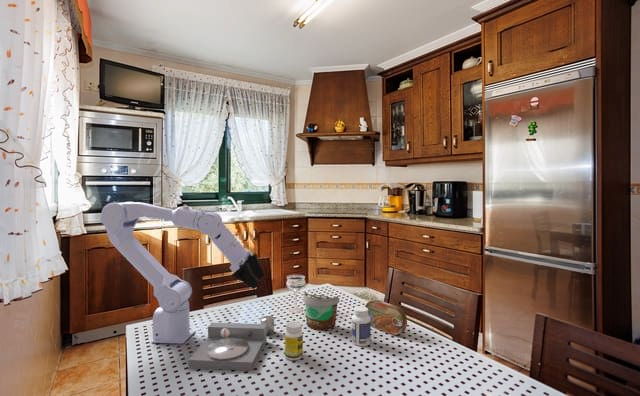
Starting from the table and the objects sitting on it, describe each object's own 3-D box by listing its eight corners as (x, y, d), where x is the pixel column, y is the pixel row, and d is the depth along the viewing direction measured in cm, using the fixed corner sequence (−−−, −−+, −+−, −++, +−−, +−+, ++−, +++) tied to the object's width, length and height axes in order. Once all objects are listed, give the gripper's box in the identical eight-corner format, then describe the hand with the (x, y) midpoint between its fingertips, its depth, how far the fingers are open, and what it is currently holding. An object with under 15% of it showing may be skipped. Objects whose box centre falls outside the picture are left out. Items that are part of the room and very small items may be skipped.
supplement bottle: (300, 361, 83) (300, 329, 83) (282, 359, 84) (282, 327, 84) (304, 352, 88) (304, 321, 88) (287, 350, 89) (287, 320, 88)
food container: (296, 328, 103) (296, 296, 103) (304, 320, 109) (304, 290, 108) (333, 334, 98) (333, 301, 98) (339, 326, 104) (339, 295, 104)
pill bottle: (372, 340, 95) (372, 307, 95) (367, 348, 90) (367, 313, 90) (354, 336, 97) (355, 304, 97) (348, 344, 92) (349, 310, 92)
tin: (363, 323, 107) (363, 297, 107) (369, 320, 109) (369, 295, 109) (402, 339, 95) (402, 311, 95) (408, 336, 97) (409, 308, 97)
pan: (199, 359, 80) (199, 356, 80) (215, 339, 91) (215, 337, 91) (241, 361, 79) (241, 358, 79) (252, 341, 90) (252, 338, 90)
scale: (188, 367, 80) (187, 347, 80) (212, 339, 95) (212, 322, 95) (252, 370, 79) (252, 350, 79) (266, 341, 94) (266, 324, 94)
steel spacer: (259, 335, 98) (259, 320, 98) (262, 329, 102) (262, 315, 102) (272, 336, 97) (272, 321, 97) (275, 330, 101) (275, 316, 101)
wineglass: (296, 305, 123) (296, 273, 123) (309, 310, 118) (309, 277, 118) (282, 310, 118) (282, 277, 118) (295, 315, 113) (295, 280, 113)
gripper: (232, 244, 89) (264, 282, 89) (246, 233, 103) (274, 266, 104) (213, 260, 89) (245, 297, 90) (229, 246, 104) (257, 279, 104)
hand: (259, 281), depth 97 cm, fingers open, 7 cm apart
